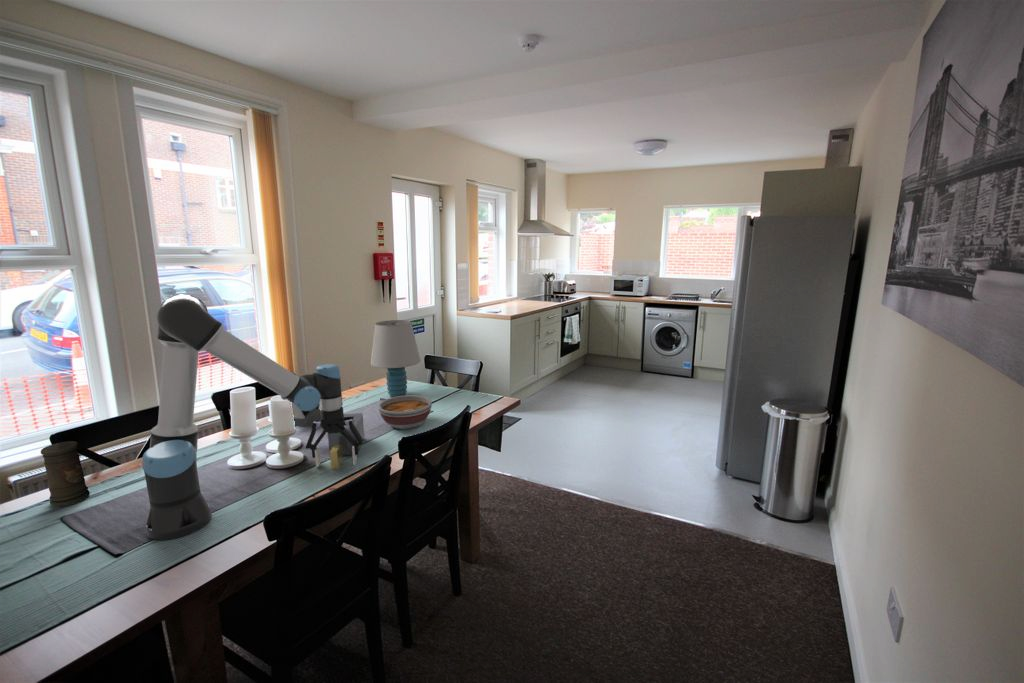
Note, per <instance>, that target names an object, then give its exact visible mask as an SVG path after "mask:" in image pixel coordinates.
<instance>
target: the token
mask: <svg viewBox="0 0 1024 683" xmlns="http://www.w3.org/2000/svg"><path fill="white" fill-rule="evenodd" d="M342 457H343V456H342V455H341V445H333V447H332V449H331V451H330V452H329V458H330V465H331V466H330V468H331V470H334V469H335V470H336V469H339V468H340V466H341V465H342V462H343V458H342Z"/></svg>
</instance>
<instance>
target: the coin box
mask: <svg viewBox="0 0 1024 683" xmlns="http://www.w3.org/2000/svg"><path fill="white" fill-rule="evenodd" d="M344 419H345V421H346V420H350V419H353V420H354V425H355V427H356V428H357V430H358V432H359V434H360V435H361V437H362V439H363V442H364V441H365V430H364V429H365V428H364V427H365V426H364V415H363V412H362V413H361V412H359V413H344ZM344 427H345V428H346V430H347V431H348V432H349V433H350V434H351V435H352V436H353V437H354V438H355V436H354V435H353V433H352V431H351V430H350V427H349V426H347V424H345V425H344ZM327 439H328V451H329V453H330V451H331V449H332V447H333V445H341V455H342V457H350V456H352V457H353V454H352V447H353V445H352V444H351V443H350V442H349V441H348V440H347V439H346V438H345V437H344V436H343V435H342V434H341V433H340V432H338V433H331V434H329V433H327ZM355 439H356V438H355ZM362 445H363V444H362ZM362 445H359V451H360V450H361V447H362Z"/></svg>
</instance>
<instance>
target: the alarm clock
mask: <svg viewBox="0 0 1024 683" xmlns="http://www.w3.org/2000/svg"><path fill="white" fill-rule="evenodd" d="M292 408H293V415H294V421H295V426H294V427H296V426H299V427H300V428H308V427H312V424H313V422H314V421H317V422H321V412H320V410H321V408H320V403H319V405H318V406H317V407H316V408H315V409H313V410H311V411H302V410H300V409H299V408H297V407H296V406H295V404H294V403H292ZM299 427H298V428H299Z"/></svg>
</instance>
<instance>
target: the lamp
mask: <svg viewBox="0 0 1024 683" xmlns="http://www.w3.org/2000/svg"><path fill="white" fill-rule="evenodd" d="M374 324H375V326H374V332H373V340H372V341H373V342H372V348H371V357H370V365H371V366H372V367H374V368H380V369H386V370H387V372H386V377H385V378H386V386H387V388H386V389H387V393H388V395H389V397H390V398H393V397H398V396H406V395H407V392H408V390H407V388H408V385H407V384H408V381H407V380H408V376H407V371H406V368H407V367H412V366H416V365H418V364H420V362H421V357H420V354H419V353H420V352H419V348H418V345H417V341H416V337H415V333H414V329H413V324H412V322H411V321H410V320H407V319H406V320H404V319H393V320H382V321H377V322H375V323H374Z"/></svg>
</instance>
